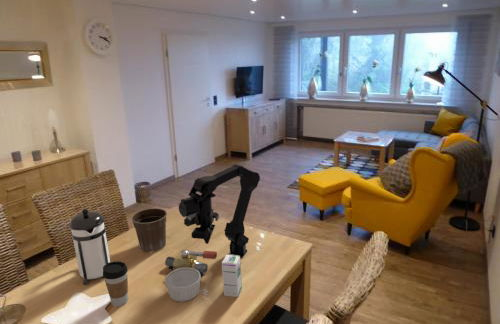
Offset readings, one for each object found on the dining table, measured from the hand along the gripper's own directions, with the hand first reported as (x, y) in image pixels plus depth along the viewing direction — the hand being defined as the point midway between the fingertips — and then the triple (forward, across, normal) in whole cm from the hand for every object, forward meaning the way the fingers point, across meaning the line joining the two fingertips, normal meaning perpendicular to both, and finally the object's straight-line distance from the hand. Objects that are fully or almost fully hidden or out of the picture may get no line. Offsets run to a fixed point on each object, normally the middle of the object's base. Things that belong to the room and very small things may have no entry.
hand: (207, 243), depth 146 cm
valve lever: (+5, +3, -3) cm, 6 cm away
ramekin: (+12, +17, -5) cm, 21 cm away
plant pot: (+12, -14, -32) cm, 37 cm away
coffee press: (+12, +10, -47) cm, 49 cm away
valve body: (+12, +3, -9) cm, 15 cm away
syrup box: (+12, +14, +14) cm, 23 cm away
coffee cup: (+12, +25, -27) cm, 39 cm away
